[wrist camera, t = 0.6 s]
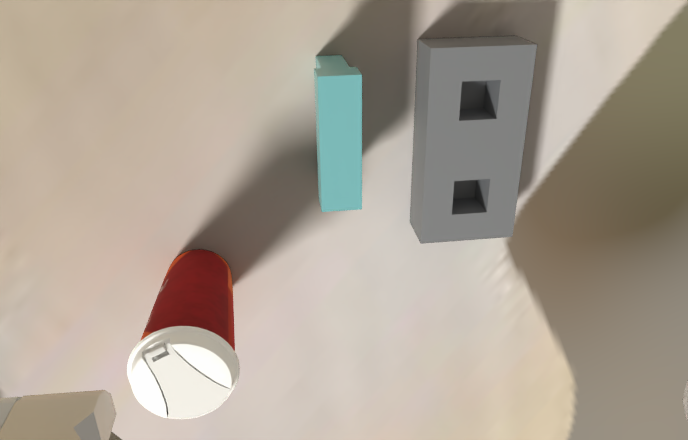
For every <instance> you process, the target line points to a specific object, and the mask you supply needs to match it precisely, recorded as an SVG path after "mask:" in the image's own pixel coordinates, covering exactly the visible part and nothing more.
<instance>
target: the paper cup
mask: <svg viewBox="0 0 688 440" xmlns="http://www.w3.org/2000/svg"><path fill="white" fill-rule="evenodd" d="M239 371H240V366H239V360H238V358H237V355H236V353H235V343H234V312H233V287H232V276H231V271H230V268H229V266H228V264H227V262H226V261H225V260H224V259H223V258H222V257H221V256H219V255H218V254H216V253H214V252H211V251H208V250H200V249H198V250H190V251H187V252H185V253H183V254H181V255H179V256H178V257H177V258H176V259H175V260H174V261H173V262H172V264H171V266H170V267H169V269H168V272H167V274H166V276H165V279H164V281H163V284H162V286H161V289H160V291H159V294H158V296H157V299H156V302H155V304H154V307H153V309H152V312H151V315H150V317H149V320H148V322H147V325H146V328H145V330H144V333H143V336H142V338H141V341H140V342H139V343H138V344H137V345H136V346H135V348H134V349H133V351H132V352H131V354H130V357H129V360H128V365H127V374H128V378H129V382H130V384H131V387H132V391H133V393H134V395H135V397H136V398H137V400H138V401H139V402H140V404H142V405H143V406H144V407H145V408H146V409H147V410H149V411H150V412H152V413H154V414H156V415H159V416H161V417H164V418H172V419H191V418H196V417H200V416H203V415H205V414H208V413H209V412H212V411H214V410H215V409H217V408H218V407H219V406H220V405H221V404H222V403H223V402H224V401H225V400H226V399H227V398H228V396H229V395H230V393H231V392H232V390H233V389H234V388H235V386H236V384H237V381H238V378H239Z"/></svg>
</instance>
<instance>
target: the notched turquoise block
mask: <svg viewBox="0 0 688 440" xmlns="http://www.w3.org/2000/svg"><path fill="white" fill-rule="evenodd" d="M314 75H315V104H316V133H317V162H318V191H319V202H320V206H321V211H322V212H328V211H342V210H357V209H362V74H361V73H360V71H359V70H358V68H357V67H349V66H348V64H347V63H346V61H345V60H344V58H343V57H342V55H329V56H316V69H314Z"/></svg>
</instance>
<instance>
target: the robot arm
mask: <svg viewBox="0 0 688 440" xmlns="http://www.w3.org/2000/svg"><path fill="white" fill-rule="evenodd" d="M683 403H684V408H685V414H686V419H687V421H688V380H687V384H686V387H685V391H684V396H683ZM115 417H116V411H115V407H114V404H113V400H112V396H111V394H110V393H109V392H107V391H106V390H97V391H84V392H70V393H57V394H43V395H30V396H23V397H12V398H0V440H122V439H120V438H119V437H118V436H117V435H115V434H114V433H113V432H111V431H112V427H113V424H114V420H115Z"/></svg>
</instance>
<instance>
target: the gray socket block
mask: <svg viewBox="0 0 688 440" xmlns="http://www.w3.org/2000/svg"><path fill="white" fill-rule="evenodd" d="M536 50H537V44H535V43H533V42H530V41H528V40H525V39H523V38H521V37H518V36H491V37H463V38H434V39H418V43H417V67H416V90H415V114H414V138H413V162H412V185H411V209H410V223H411V225H412V227H413V229H414V231H415V233H416V235H417V237H418V239H419V241H420V243H434V242H448V241H461V240H474V239H488V238H501V237H512V234H513V227H514V219H515V211H516V204H517V196H518V188H519V181H520V173H521V165H522V158H523V150H524V142H525V135H526V127H527V119H528V111H529V104H530V96H531V88H532V81H533V73H534V65H535V58H536Z"/></svg>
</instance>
